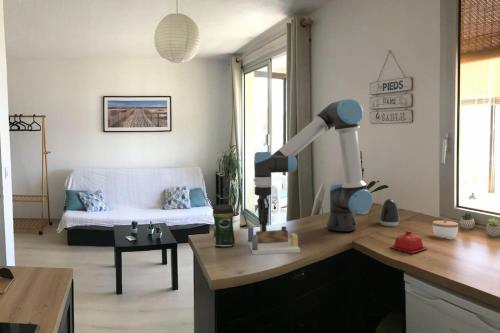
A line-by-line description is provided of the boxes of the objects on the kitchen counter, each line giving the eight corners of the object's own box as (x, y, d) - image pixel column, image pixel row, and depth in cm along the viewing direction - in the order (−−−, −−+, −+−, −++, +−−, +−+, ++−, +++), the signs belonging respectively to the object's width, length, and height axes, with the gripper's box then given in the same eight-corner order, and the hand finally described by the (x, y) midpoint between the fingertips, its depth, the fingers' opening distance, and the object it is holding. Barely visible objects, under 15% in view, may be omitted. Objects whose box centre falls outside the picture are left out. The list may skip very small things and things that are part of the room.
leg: (286, 239, 175) (286, 226, 175) (288, 241, 172) (288, 227, 172) (256, 241, 173) (256, 227, 173) (257, 242, 170) (257, 229, 170)
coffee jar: (233, 242, 178) (232, 202, 177) (236, 247, 170) (235, 205, 169) (212, 244, 176) (211, 203, 175) (214, 248, 168) (213, 206, 167)
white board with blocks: (290, 241, 178) (290, 225, 178) (300, 252, 161) (300, 234, 160) (247, 243, 176) (247, 227, 176) (252, 254, 158) (252, 236, 158)
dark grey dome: (401, 226, 209) (401, 198, 208) (397, 229, 200) (397, 200, 199) (382, 224, 214) (382, 197, 214) (377, 227, 206) (377, 199, 205)
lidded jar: (457, 237, 182) (457, 217, 182) (458, 242, 172) (459, 222, 172) (432, 235, 187) (432, 216, 186) (432, 240, 177) (432, 220, 176)
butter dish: (412, 255, 155) (412, 234, 154) (388, 249, 164) (388, 229, 164) (429, 251, 161) (429, 231, 160) (404, 245, 171) (405, 226, 170)
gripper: (251, 184, 178) (252, 235, 180) (257, 188, 166) (258, 242, 167) (267, 184, 180) (267, 234, 181) (274, 187, 167) (275, 241, 169)
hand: (263, 237), depth 174 cm, fingers closed
